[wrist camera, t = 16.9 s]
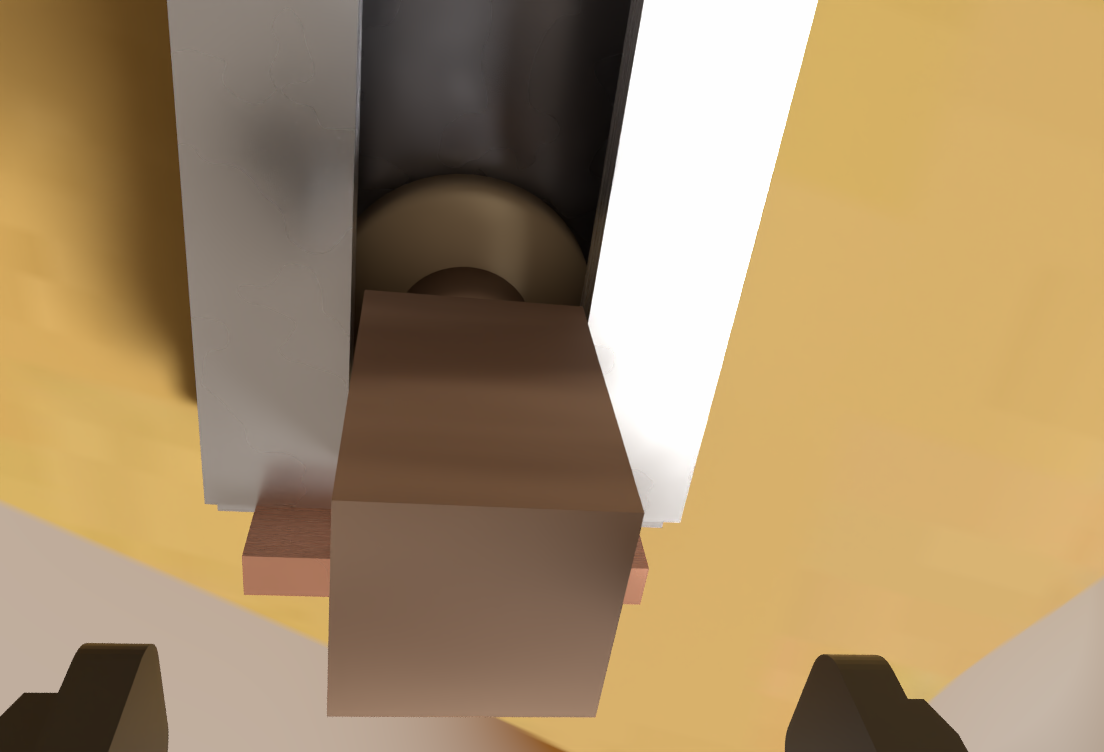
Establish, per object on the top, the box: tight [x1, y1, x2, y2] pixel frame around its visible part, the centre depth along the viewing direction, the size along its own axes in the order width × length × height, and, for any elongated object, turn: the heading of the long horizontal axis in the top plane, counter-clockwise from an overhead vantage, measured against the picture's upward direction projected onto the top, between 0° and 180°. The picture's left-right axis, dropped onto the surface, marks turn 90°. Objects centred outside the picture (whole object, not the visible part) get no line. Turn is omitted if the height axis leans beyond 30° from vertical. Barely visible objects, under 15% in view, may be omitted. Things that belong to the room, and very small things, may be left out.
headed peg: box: [327, 174, 645, 717], centre depth 17 cm, size 6×6×10 cm
